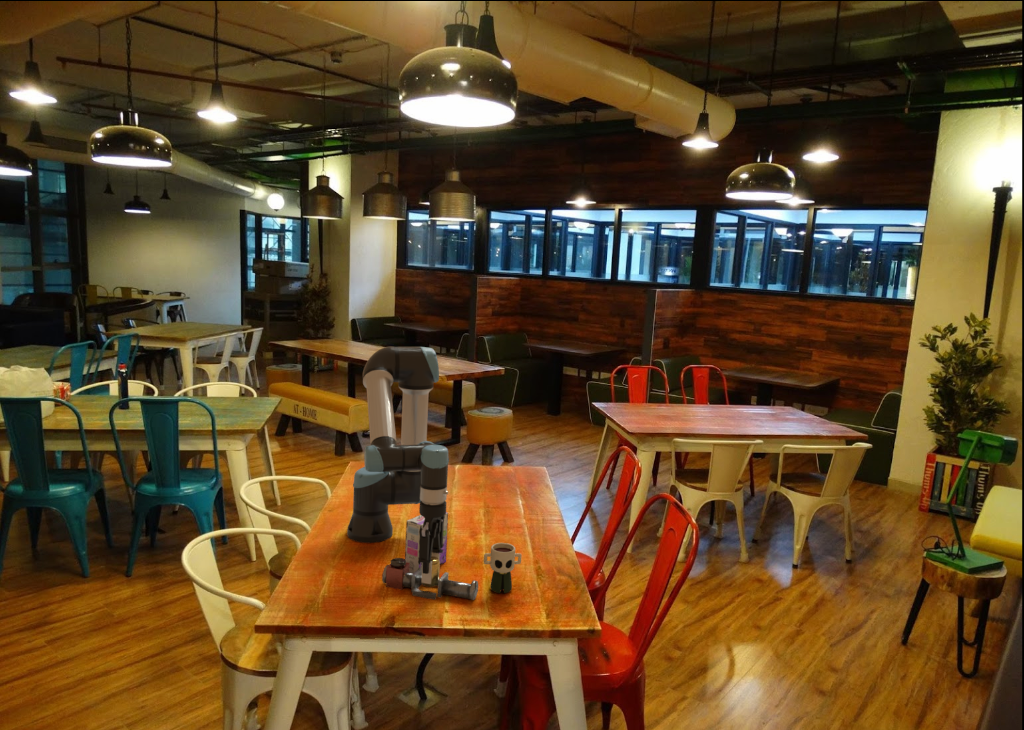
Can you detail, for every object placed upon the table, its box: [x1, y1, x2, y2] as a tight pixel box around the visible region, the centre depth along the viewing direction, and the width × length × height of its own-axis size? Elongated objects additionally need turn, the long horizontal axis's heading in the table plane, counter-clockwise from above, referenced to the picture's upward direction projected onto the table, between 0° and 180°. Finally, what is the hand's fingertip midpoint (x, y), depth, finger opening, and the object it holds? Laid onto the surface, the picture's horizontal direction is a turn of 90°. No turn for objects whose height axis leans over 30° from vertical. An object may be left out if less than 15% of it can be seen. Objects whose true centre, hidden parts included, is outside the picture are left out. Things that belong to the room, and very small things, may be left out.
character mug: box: [483, 542, 522, 594], centre depth 202 cm, size 11×7×13 cm, turn 97°
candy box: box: [404, 511, 449, 574], centre depth 214 cm, size 14×6×16 cm, turn 148°
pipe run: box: [381, 557, 479, 601], centre depth 200 cm, size 27×9×7 cm, turn 75°
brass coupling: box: [421, 556, 441, 588], centre depth 200 cm, size 5×5×7 cm
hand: (430, 578), depth 200 cm, fingers closed on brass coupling, 5 cm apart
